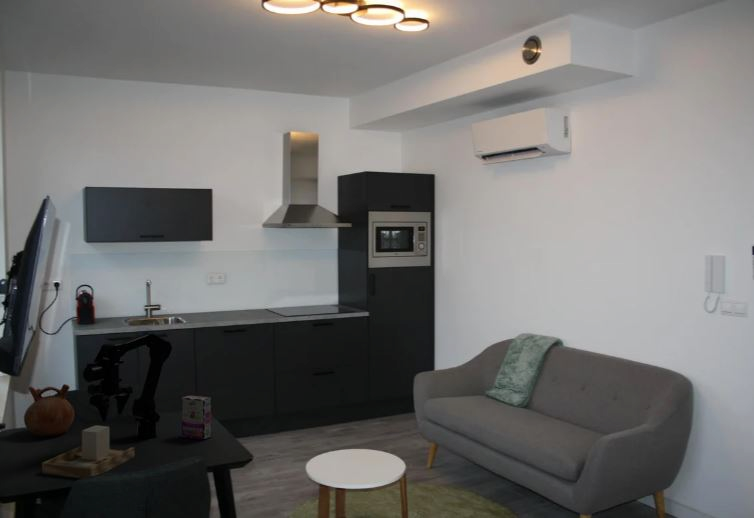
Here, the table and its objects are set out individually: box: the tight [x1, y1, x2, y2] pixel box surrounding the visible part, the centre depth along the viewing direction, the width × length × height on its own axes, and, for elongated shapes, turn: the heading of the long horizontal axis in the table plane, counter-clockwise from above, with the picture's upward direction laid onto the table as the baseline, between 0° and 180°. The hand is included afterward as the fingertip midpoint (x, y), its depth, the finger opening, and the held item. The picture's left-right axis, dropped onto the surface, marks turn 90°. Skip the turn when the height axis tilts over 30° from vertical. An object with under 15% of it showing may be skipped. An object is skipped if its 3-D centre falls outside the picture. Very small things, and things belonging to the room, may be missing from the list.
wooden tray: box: [41, 444, 136, 479], centre depth 233 cm, size 24×20×4 cm
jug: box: [23, 384, 75, 438], centre depth 269 cm, size 18×18×20 cm
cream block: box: [81, 425, 111, 460], centre depth 236 cm, size 7×6×10 cm
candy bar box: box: [181, 394, 212, 440], centre depth 265 cm, size 11×5×16 cm, turn 68°
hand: (111, 417), depth 251 cm, fingers open, 9 cm apart
